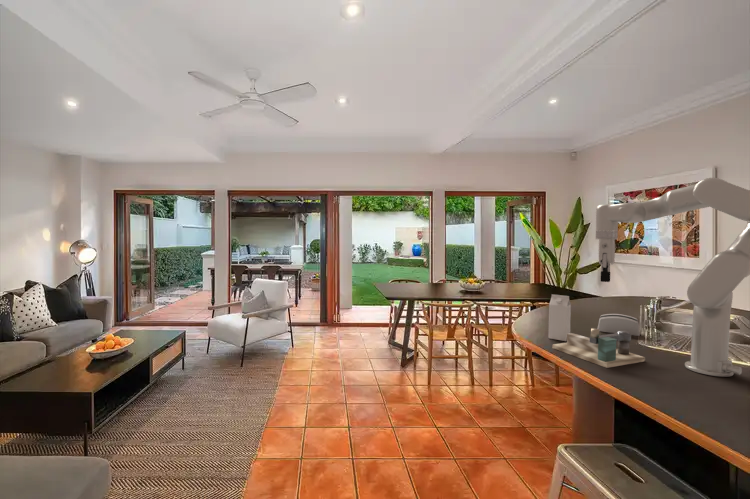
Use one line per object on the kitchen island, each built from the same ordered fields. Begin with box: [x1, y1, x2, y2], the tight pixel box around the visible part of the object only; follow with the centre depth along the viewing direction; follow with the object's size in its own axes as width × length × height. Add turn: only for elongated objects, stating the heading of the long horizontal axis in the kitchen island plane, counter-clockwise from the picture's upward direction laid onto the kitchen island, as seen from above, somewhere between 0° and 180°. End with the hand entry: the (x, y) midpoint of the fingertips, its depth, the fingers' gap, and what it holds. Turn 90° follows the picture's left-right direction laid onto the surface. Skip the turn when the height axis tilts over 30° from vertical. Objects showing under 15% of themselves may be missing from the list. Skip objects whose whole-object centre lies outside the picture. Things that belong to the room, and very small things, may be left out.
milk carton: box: [548, 293, 572, 342], centre depth 171 cm, size 7×7×19 cm
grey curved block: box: [596, 313, 641, 337], centre depth 181 cm, size 17×5×10 cm, turn 59°
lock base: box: [552, 332, 646, 369], centre depth 149 cm, size 24×19×9 cm
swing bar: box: [589, 327, 632, 344], centre depth 143 cm, size 18×4×6 cm, turn 112°
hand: (605, 281), depth 157 cm, fingers closed
